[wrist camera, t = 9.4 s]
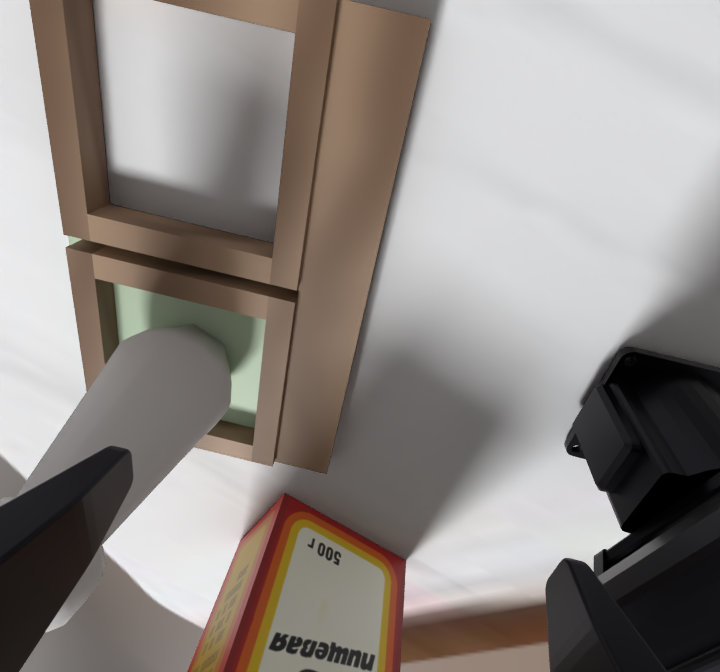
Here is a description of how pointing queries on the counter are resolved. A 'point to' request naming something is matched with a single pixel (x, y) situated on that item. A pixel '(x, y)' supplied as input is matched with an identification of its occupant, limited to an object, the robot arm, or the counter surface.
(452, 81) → the counter surface
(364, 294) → the frame
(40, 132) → the counter surface
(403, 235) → the counter surface
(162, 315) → the card
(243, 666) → the baking soda box
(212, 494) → the counter surface
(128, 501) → the salt shaker
